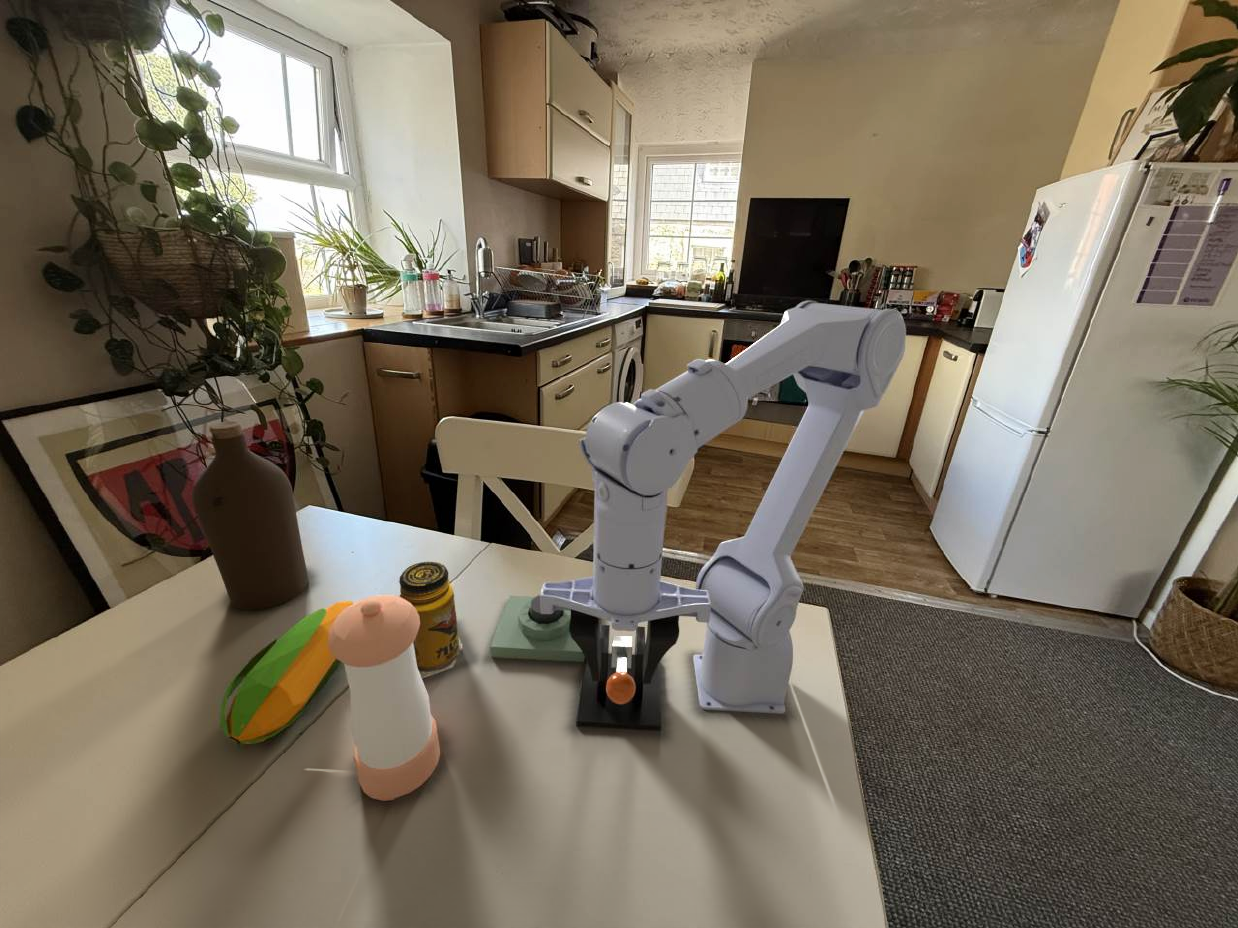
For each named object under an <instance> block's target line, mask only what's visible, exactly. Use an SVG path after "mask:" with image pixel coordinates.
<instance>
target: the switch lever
mask: <svg viewBox="0 0 1238 928" xmlns="http://www.w3.org/2000/svg"><path fill="white" fill-rule="evenodd" d="M611 642H612V643H611V653H612V657H611V668H616V673H614V674H612V675H611V676H610V677H609V679H608V681H607V684H606V692H607V695H608V697H609V698H610V700H611V701H613V702H614V703H617V704H625V703H627V702H629V701H630V700H631V699H632V698H633V696H634V694H635V690H636V686H635V682H634V680H633V678H632V677H631V676H630V675H629V674H628V673H627V668H629V669H631V666H632V654H633V636H622V635H621V636H620V635H612V641H611Z"/></svg>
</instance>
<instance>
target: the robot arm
mask: <svg viewBox="0 0 1238 928" xmlns="http://www.w3.org/2000/svg"><path fill="white" fill-rule="evenodd" d="M906 338H907V327H906V323H905V320H904V317H903V315H902V313H901V312H900V311H899V310H898V309H894V308H884V309H877V308H868V307H861V306H860V307H859V306H850V305H849V306H848V305H840V304H829V303H821V302H818V301H817V300H811V299H810V300H804V301H801V302H800V303H798V304H797V305H796V306H795V307H792V308H789V309H787V310H785V311H784V313H783V316H782V318H781V321H780V324H779V325H778V326H776V327H775V328H774V329H772V330H770V332H768V333H767V334H765V335H764V336H762V337H761V338H760V339H759V340H757V341H756V342H754V343H753V344H751V345H750V346H749V347H748V348H746V349H745V350H743V351H742V352H740V353H739V354H738V355H736V356H735V357H733V358H731V360H729V361H728V362H726V363H724V362H722V361H720V360H718V359H717V360H716V359H707V360H705V359H702V358H696V359H694V360H692V361H691V362H689V363H688V364H686V369H687V370H686V371H685V372H683V373H682V374H680V375H678V376H676V377H674V378H673V379H671V380H669V381H667V382H666V383H664V384H662V385H660V386H659V387H657V388H656V389H652V388H649V389H647V390H646V391H644V392H642V393H641V394H640V398H638V399H637V400H636V401H635V402H633V404H632V403H629V402H626V401H625V402H622V401H617V402H613V403H610V404H607V405H606V406H605V407H603V408H601V409H600V410H599V411H598V412H597V413H596V414H595V415H594V416H593V417H592V419H591V420H590V422H589V424H588V426H587V428H586V432H585V436H584V437H582V438H580V439H579V448H580V453H581V455H582V458H583V459H584V461H585V462H586V463H587V464H588V465H589V466H590V469H591V472H592V485H593V486H594V496H593V497H594V499H593V500H594V502H593V503H594V505H593V547H592V549H593V557H592V558H593V559H592V560H593V561H592V576H589V577H582V578H578V579H570V580H565V581H554V582H552V581H551V582H550V581H544V582H543V583H542V586H541V590H540V594H539V595H540V613H541V614H552V613H553V612H554V610H571V617H570V625H569V631H570V635H571V638H572V639H573V640H574V641H575V642H576V643H577V645H578V646H579V647H580V649H581V651H582V652H583V654H584V656H585V658H586V661H587V663H588V666H589V669H590V672H591V677H592V681H599V679H600V668H601V643H600V630H601V619H602V620H606V621H609V622H610V623H611V626H610V627H611V629H613V630H614V631H617V632H634V631H635V632H636V630H637V627H638V626H639V624H640V623H644V622H647V625H646V626H647V627H646V637H645V650H644V656H643V684H650V683H651V680H652V677H653V674H654V672H655V670H656V668H657V666H658V667H659V665H660V662H661V661H662V659H663V658H664V656H665V655H666V654H667V652H668V651H669V650H670V649H672V647H674V646H675V645H676V644H677V643H678V640H679V637H680V623H679V622H680V617H690V618H695V620H696V622H698V623H706V625H705V632H704V638H703V639H704V640H703V647H702V654H693V656H692V657H693V659H692V661H693V666H694V667H693V668H694V674H695V681H696V688H697V696H698V703H699V707H700V708H701V709H702V710H706V711H723V712H724V711H726V712H745V713H759V714H761V713H764V714H778V715H779V714H781V715H783V714H785V713H786V706H785V700H786V696H787V691H788V687H789V682H790V678H791V674H792V671H793V663H794V661H793V660H794V645H793V638H792V634H791V628H792V627H793V624H794V622H795V620H796V617H797V610H798V606H799V603H800V600H801V597H802V595H803V592H804V590H805V585H804V583H803V581H802V579H801V577H800V575H799V573H798V571H797V569H796V566H795V565H794V562H793V559H792V558H791V557H792V555H793V553H794V551H795V549H796V547H797V545H798V543H799V541H800V539H801V538H802V537H801V536H802V535H803V533H804V530H805V529H806V527H807V525H808V523H809V521H810V519H811V518H812V515H813V513H814V511H815V509H816V507H817V505H818V503H819V501H820V499H821V497H822V495H823V493H824V491H825V489H826V487H827V486H828V483H829V481H830V479H831V477H832V475H833V473H834V472H835V469H836V467H837V465H838V463H839V462H840V460H841V457H842V455H843V453H844V451H845V449H846V448H847V445H848V444H849V441H850V440H851V437H852V435H853V434H854V431H855V429H856V428H857V426H858V423H859V421H860V420H861V417H862V415H863V413H864V411H866V410H869V409H872V408H876V407H878V406H879V404H880V402H881V400H882V398H883V396H884V394H885V393H886V392H887V389H888V388H889V386H890V384H891V382H892V381H893V378H894V375H896V372H897V371H898V368H899V367H900V364H901V362H902V361H903V358H904V356H905V352H906ZM791 376H793V378H794V380H795V383H796V385H797V386H798V388H799V389H801V390H802V391H803V392H804V393H805V394H806V398H807V402H808V405H807V407H806V410H805V412H804V413H803V416H802V418H801V420H800V422H799V424H798V426H797V428H796V430H795V432H794V434H793V436H792V438H791V440H790V443H789V444H788V446H787V448H786V450H785V453H784V454H783V457H782V458H781V461H780V462H779V465H778V467H777V469H776V471H775V473H774V475H773V477H772V479H771V481H770V483H769V485H768V487H767V489H766V491H765V494H764V496H763V497H762V500H761V502H760V504H759V505H758V508H757V509H756V512H755V514H754V516H753V518H752V520H751V522H750V524H749V526H748V527H747V530H746V532H745V533H744V536H741V537H737V538H733V539H727V540H724V541H722V542H720V543H719V545H718V546H717V548H716V550H715V552H714V554H713V555H712V556H711V558H709V560H708V561H707V562H706V563H705V564H704V565H703V566H702V567H701V569H700V571H699V572H698V575H697V577H696V582H695V588H690V587H687V586H684V585H679V584H675V583H671V582H668V581H664V580H661V577H662V576H661V575H662V565H663V564H662V563H663V549H664V538H665V537H664V536H665V525H666V514H667V504H668V503H667V502H668V490H669V489H672V488H673V487H674V486H675V485H676V483H677V482H678V481H679V479H680V478H681V476H682V475H683V473H684V471H685V469H686V467H687V465H688V464H689V462H690V461H691V460H693V459H694V458H695V456H696V455H695V454H697V453H698V449H699V448H702V446H704V445H706V444H707V443H708V442H710V441H711V440H713V439H714V438H716V437H718V436H719V435H720V434H722V433H723V432H725V431H726V430H727V429H730V428H731V427H732V426H734V425H736V424H737V423H738V422H740V421H741V420H742V419H743V418H744V417H745V415H746V413H747V410H748V403H749V402H748V401H749V399H750V398H753V397H754V396H756V395H757V394H760V393H761V392H763V391H765V390H767V389H769V388H771V387H772V386H774V385H776V384H778V383H780V382H782V381H784V380H785V379H787V378H790V377H791Z"/></svg>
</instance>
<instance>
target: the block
mask: <svg viewBox="0 0 1238 928" xmlns="http://www.w3.org/2000/svg"><path fill="white" fill-rule="evenodd" d="M535 597H536V596H530V595H529V596H528V595H527V596H526V595H509V597H508V599H507V602H506V605H505V607H504V610H503V612H502V615H501V618H500V620H499V622H498V625H497V628H496V631H495V632H494V633H495V634H494V636H493V639H492V642H491V644H490V647H489V648H490V657H491V658H501V659H502V658H505V659H522V660H523V659H524V660H539V661H540V660H542V661H558V662H560V661H561V662H576V663H577V662H578V663H584V658H585V656H584V654H583V652H582V651H581V649H580V647H579V646H578V645H577V643H576V642H575V641H574V640H573V639H572V638H571V635H570V631H569V625H570V617H571V610H562V614H561V617H560V618H559V619H558V620H557V621H556V622H553V623H550V624H539V623H536V622H534V621H533V620H532V618H531V616H530V603H531V601H532V599H533V598H535Z"/></svg>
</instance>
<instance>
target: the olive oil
mask: <svg viewBox="0 0 1238 928" xmlns="http://www.w3.org/2000/svg"><path fill="white" fill-rule="evenodd" d="M208 429H209V432H210V433H211V437H210V440H211V443H212V445H213V446H212V447H213V449H214V452H215V456H214V458H213V459H212V460H211V462H209V464H208V465H207V467H206V468H204V470H203V472H202V473H201V474H200V475H199V477H198V478H197V479H196V481H195V483H194V486H193V488H192V500H191V501H192V507H193V509H194V512H195V515H196V517H197V519H198V522H199V525H200V527H201V529H202V531H203V534H204V536H205V539H206V541H207V543H208V546H209V549H210V551H211V553H212V556H213V558H214V561H215V563H216V566H217V568H218V571H219V574H220V576H221V579H222V582H223V585H224V587H225V589H226V593H227V595H228V598H229V600H230V602H231V604H232V605H233V606H234V607H235V608H237V609H240V610H247V611H254V610H255V611H257V610H262V609H268V608H272V607H276V606H278V605H281V604H283V603H286V602H288V601H290V600H292V599H293V598H295V597H296V596H298V595H299V594H300V593H302V591H303V590H304V589H305V588H306V587H307V585H308V583H309V574H308V569H307V564H306V559H305V555H304V549H303V544H302V539H301V534H300V533H301V532H300V528H299V521H298V516H297V510H296V504H295V498H294V493H293V492H294V491H293V487H292V484H291V481H290V480H289V478H288V476H287V475H286V473H285V472H284V470H283V469H282V468H281V467H280V466H278V465H276V464H275V463H273V462H272V461H270V460H268V459H266V458H264V457H262V456H260V455H258V454H256V453H254V452H253V451H252V450H250V449H249V448H248V444H247V439H246V435H245V432H243V431H242V424H241V423H240V422H239V421H222V422H221V421H220V422H217V423H214V424H212V425H210V426H209V427H208Z"/></svg>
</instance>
